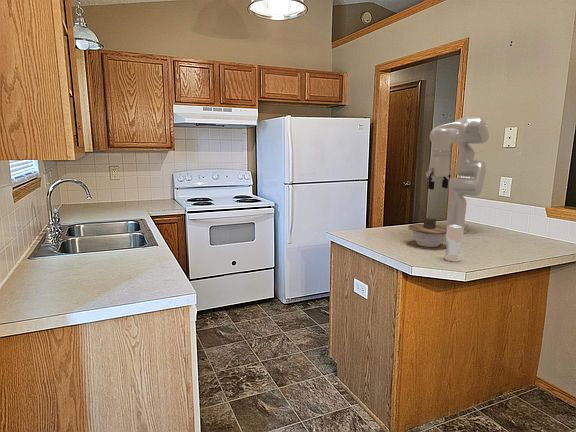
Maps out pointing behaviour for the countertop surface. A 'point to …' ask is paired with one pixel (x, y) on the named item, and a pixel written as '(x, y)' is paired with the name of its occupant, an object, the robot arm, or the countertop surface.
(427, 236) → the paper bowls
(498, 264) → the countertop surface
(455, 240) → the beer glass
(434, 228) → the walnut lid
